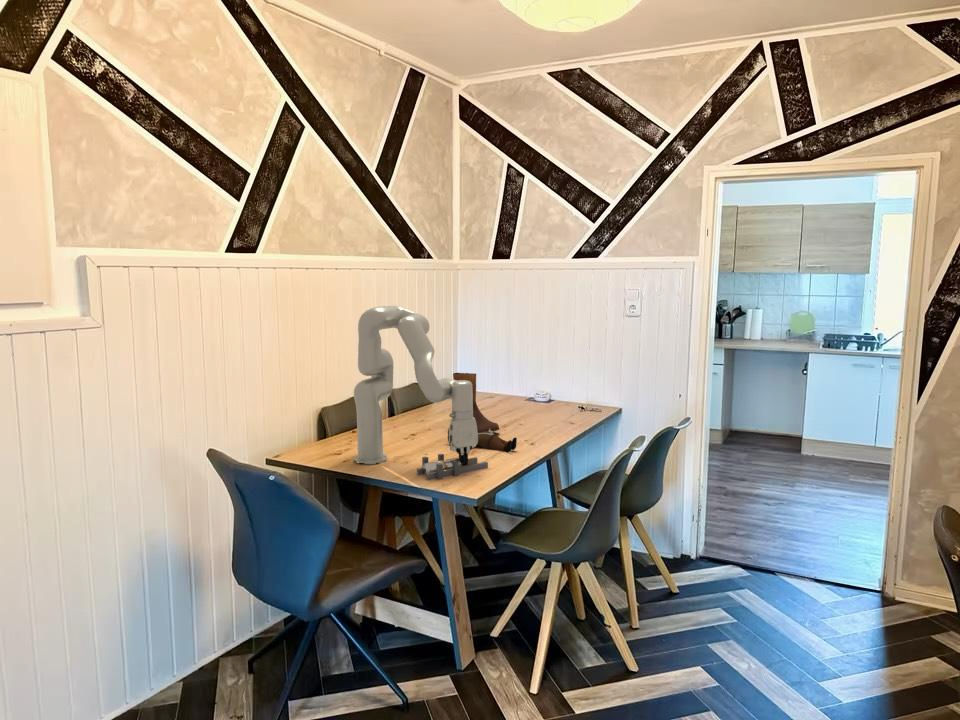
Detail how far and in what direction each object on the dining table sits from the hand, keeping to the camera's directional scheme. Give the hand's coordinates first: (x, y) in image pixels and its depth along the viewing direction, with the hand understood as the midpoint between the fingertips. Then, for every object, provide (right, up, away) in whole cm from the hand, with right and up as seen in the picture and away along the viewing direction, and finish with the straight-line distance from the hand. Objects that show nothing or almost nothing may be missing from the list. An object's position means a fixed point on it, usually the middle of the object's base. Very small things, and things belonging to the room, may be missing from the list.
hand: (463, 464), depth 229 cm
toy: (+7, +1, +32) cm, 33 cm away
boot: (+4, +5, +60) cm, 60 cm away
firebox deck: (-4, -3, -2) cm, 5 cm away
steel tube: (-7, -2, -4) cm, 9 cm away
